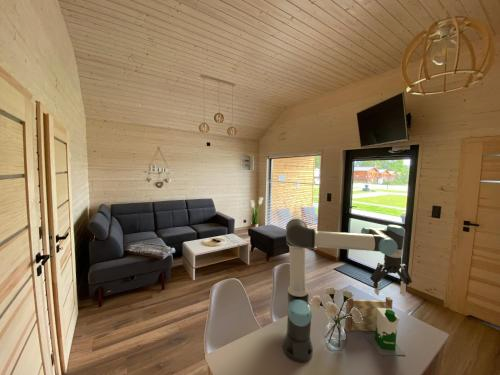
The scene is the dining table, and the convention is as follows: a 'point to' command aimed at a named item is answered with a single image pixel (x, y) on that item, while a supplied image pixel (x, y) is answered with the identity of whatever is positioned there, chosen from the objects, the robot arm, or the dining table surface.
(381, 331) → the soya milk
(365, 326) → the door
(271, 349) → the dining table surface
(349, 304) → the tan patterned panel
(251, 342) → the dining table surface
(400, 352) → the keeper pad
